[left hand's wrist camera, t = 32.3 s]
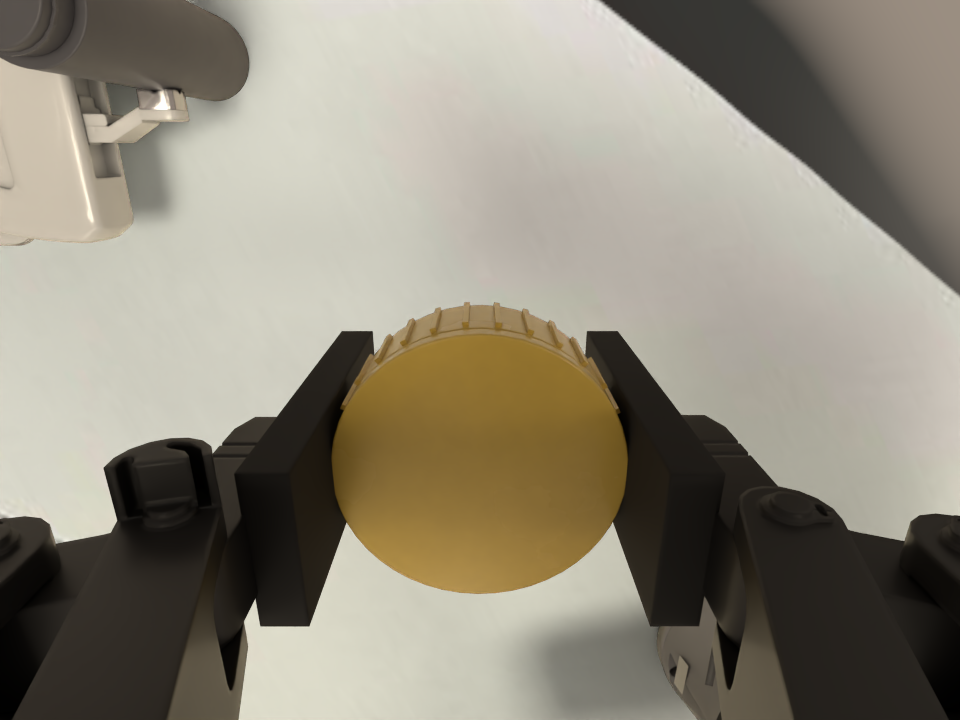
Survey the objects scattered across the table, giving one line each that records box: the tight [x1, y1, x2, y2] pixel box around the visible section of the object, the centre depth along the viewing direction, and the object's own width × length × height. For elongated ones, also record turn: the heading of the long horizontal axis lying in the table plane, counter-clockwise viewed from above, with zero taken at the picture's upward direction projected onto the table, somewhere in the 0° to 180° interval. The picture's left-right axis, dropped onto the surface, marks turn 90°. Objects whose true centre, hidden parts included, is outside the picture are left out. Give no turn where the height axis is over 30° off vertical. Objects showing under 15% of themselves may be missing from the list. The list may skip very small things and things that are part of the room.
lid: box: [331, 302, 628, 594], centre depth 11 cm, size 6×6×2 cm
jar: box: [0, 0, 249, 101], centre depth 27 cm, size 5×5×17 cm
